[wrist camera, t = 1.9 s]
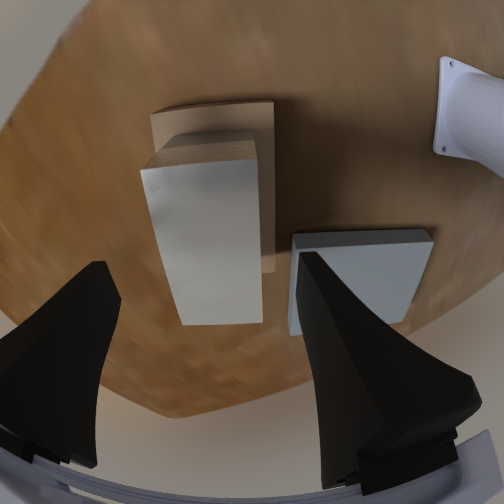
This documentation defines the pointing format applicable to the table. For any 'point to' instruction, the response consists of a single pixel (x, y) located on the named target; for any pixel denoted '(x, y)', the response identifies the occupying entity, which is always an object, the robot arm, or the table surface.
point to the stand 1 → (230, 118)
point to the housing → (208, 224)
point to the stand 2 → (367, 267)
